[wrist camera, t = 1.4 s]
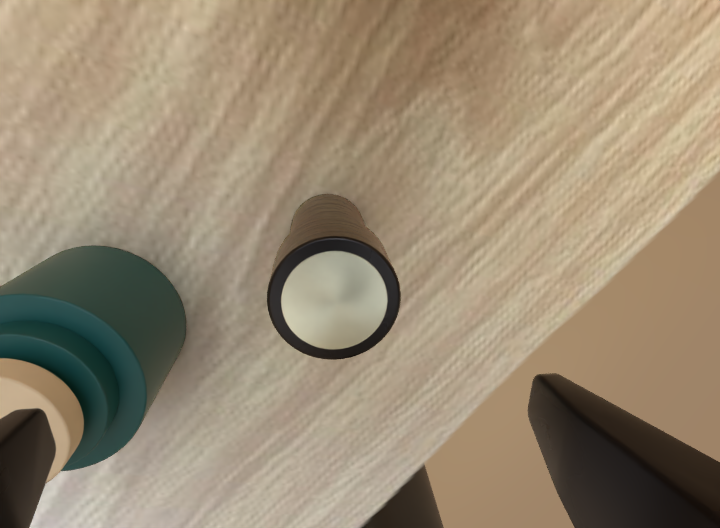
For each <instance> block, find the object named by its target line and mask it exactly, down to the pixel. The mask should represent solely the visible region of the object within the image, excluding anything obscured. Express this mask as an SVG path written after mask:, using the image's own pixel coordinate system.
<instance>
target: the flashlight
mask: <svg viewBox="0 0 720 528" xmlns="http://www.w3.org/2000/svg"><path fill="white" fill-rule="evenodd" d="M400 301H401V291H400V285H399V281H398V278H397V275H396V273H395V271H394V268H393V266H392V264H391V262H390V260H389V258H388V256H387V253H386V251H385V249H384V247H383V245H382V244H381V242H380V240H379V239H378V238H377V237H376V235H375V234H374V233H373V232H372V231H370V230H369V229H368V228H367V227H366V226H365V224H364V221H363V219H362V217H361V214H360V212H359V211H358V209H357V208H356V207H355V206H354V205H353V204H352V203H351V202H350V201H348V200H347V199H345V198H343V197H340V196H337V195H332V194H323V195H318V196H315V197H312V198H310V199H308V200H307V201H305V202H304V203H303V204H302V205H301V206H300V207H299V208H298V210H297V211H296V213H295V215H294V217H293V220H292V224H291V229H290V234H289V235H288V236H287V237H286V238H285V240H284V241H283V243H282V244H281V246H280V248H279V250H278V252H277V255H276V258H275V262H274V266H273V270H272V274H271V278H270V282H269V286H268V292H267V305H268V311H269V315H270V318H271V321H272V323H273V325H274V327H275V328H276V330H277V332H278V333H279V334H280V335H281V337H282V338H283V339H284V340H285V341H286V342H287V343H288V344H290V345H291V346H292V347H294V348H295V349H297V350H298V351H300V352H302V353H304V354H307V355H309V356H313V357H316V358H321V359H344V358H349V357H353V356H356V355H359V354H361V353H363V352H366V351H367V350H369V349H371V348H372V347H374V346H375V345H376V344H377V343H379V342H380V341H381V340H382V339H383V338H384V337H385V336H386V334H387V333H388V332H389V331H390V329H391V327H392V326H393V324H394V322H395V320H396V318H397V315H398V312H399V308H400Z"/></svg>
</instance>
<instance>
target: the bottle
mask: <svg viewBox="0 0 720 528" xmlns="http://www.w3.org/2000/svg"><path fill="white" fill-rule="evenodd" d="M185 333H186V318H185V312H184V308H183V305H182V302H181V300H180V298H179V296H178V293H177V292H176V290H175V289H174V287H173V285H172V284H171V283H170V281H169V280H168V279H167V278H166V277H165V276H164V275H163V274H162V273H161V272H160V271H159V270H158V269H157V268H156V267H154V266H153V265H151V264H150V263H149V262H147V261H145V260H144V259H142V258H140V257H138V256H136V255H134V254H132V253H129V252H126V251H123V250H120V249H117V248H111V247H106V246H82V247H76V248H71V249H68V250H65V251H62V252H60V253H58V254H56V255H54V256H52V257H50V258H48V259H47V260H45V261H43V262H41V263H40V264H38V265H36V266H35V267H33V268H31V269H30V270H28V271H26V272H24V273H23V274H21V275H19V276H18V277H16V278H14V279H13V280H11V281H9V282H7V283H6V284H4V285H2V286H1V287H0V419H1V418H3V417H4V416H6V415H8V414H9V413H11V412H13V411H15V410H19V409H33V408H39V409H42V410H43V411H44V412H45V413H46V415H47V418H48V421H49V424H50V427H51V430H52V434H53V437H54V440H55V443H56V454H55V458H54V461H53V464H52V467H51V470H50V472H49V475H48V478H47V480H46V483H47V482H48V481H50V480H52V479H53V478H54V477H55V476H56V475H57V474H58V473H59V472H60V471H68V470H74V469H79V468H84V467H87V466H90V465H93V464H96V463H98V462H100V461H103V460H105V459H107V458H108V457H110V456H112V455H113V454H115V453H116V452H118V451H119V450H120V449H121V448H123V447H124V446H125V445H126V444H127V443H128V442H129V441H130V440H131V439H132V437H133V436H134V435H135V433H136V432H137V430H138V429H139V427H140V425H141V423H142V421H143V419H144V418H145V416H146V414H147V412H148V410H149V408H150V406H151V405H152V403H153V401H154V399H155V397H156V395H157V394H158V392H159V390H160V388H161V386H162V384H163V382H164V381H165V379H166V377H167V375H168V373H169V371H170V369H171V368H172V366H173V364H174V362H175V360H176V358H177V356H178V355H179V353H180V350H181V348H182V346H183V342H184V339H185Z"/></svg>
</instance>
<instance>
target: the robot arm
mask: <svg viewBox="0 0 720 528" xmlns="http://www.w3.org/2000/svg"><path fill="white" fill-rule="evenodd" d="M528 417H529V421H530V423H531V426H532V429H533V431H534V434H535V436H536V439H537V442H538V444H539V447H540V449H541V452H542V455H543V457H544V460H545V462H546V465H547V468H548V470H549V473H550V475H551V478H552V480H553V483H554V485H555V488H556V490H557V493H558V495H559V497H560V499H561V501H562V503H563V505H564V507H565V509H566V511H567V513H568V515H569V517H570V519H571V521H572V523H573V525H574V527H575V528H720V462H718V461H716V460H714V459H712V458H711V457H709V456H707V455H705V454H703V453H701V452H700V451H698V450H696V449H694V448H692V447H691V446H689V445H687V444H685V443H683V442H681V441H679V440H678V439H676V438H674V437H672V436H671V435H669V434H667V433H665V432H663V431H661V430H660V429H658V428H656V427H654V426H652V425H650V424H648V423H647V422H645V421H643V420H641V419H639V418H638V417H636V416H634V415H632V414H630V413H628V412H627V411H625V410H623V409H621V408H619V407H617V406H616V405H614V404H612V403H610V402H608V401H606V400H605V399H603V398H601V397H599V396H597V395H595V394H594V393H592V392H590V391H588V390H586V389H584V388H583V387H581V386H579V385H577V384H575V383H573V382H572V381H570V380H568V379H566V378H564V377H563V376H561V375H559V374H556V373H552V374H551V373H550V374H539V375H536V376H535V377H534V379H533V382H532V388H531V393H530V399H529V405H528ZM55 454H56V443H55V440H54V437H53V434H52V430H51V427H50V424H49V421H48V418H47V415H46V413H45V412H44V411H43V410H42V409H39V408H33V409H19V410H15V411H13V412H11V413H9V414H8V415H6V416H4V417H3V418H1V419H0V528H29V527H30V524H31V521H32V519H33V516H34V513H35V511H36V508H37V505H38V502H39V500H40V497H41V494H42V491H43V489H44V486H45V483H46V480H47V478H48V475H49V472H50V470H51V467H52V464H53V461H54V458H55Z"/></svg>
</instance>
